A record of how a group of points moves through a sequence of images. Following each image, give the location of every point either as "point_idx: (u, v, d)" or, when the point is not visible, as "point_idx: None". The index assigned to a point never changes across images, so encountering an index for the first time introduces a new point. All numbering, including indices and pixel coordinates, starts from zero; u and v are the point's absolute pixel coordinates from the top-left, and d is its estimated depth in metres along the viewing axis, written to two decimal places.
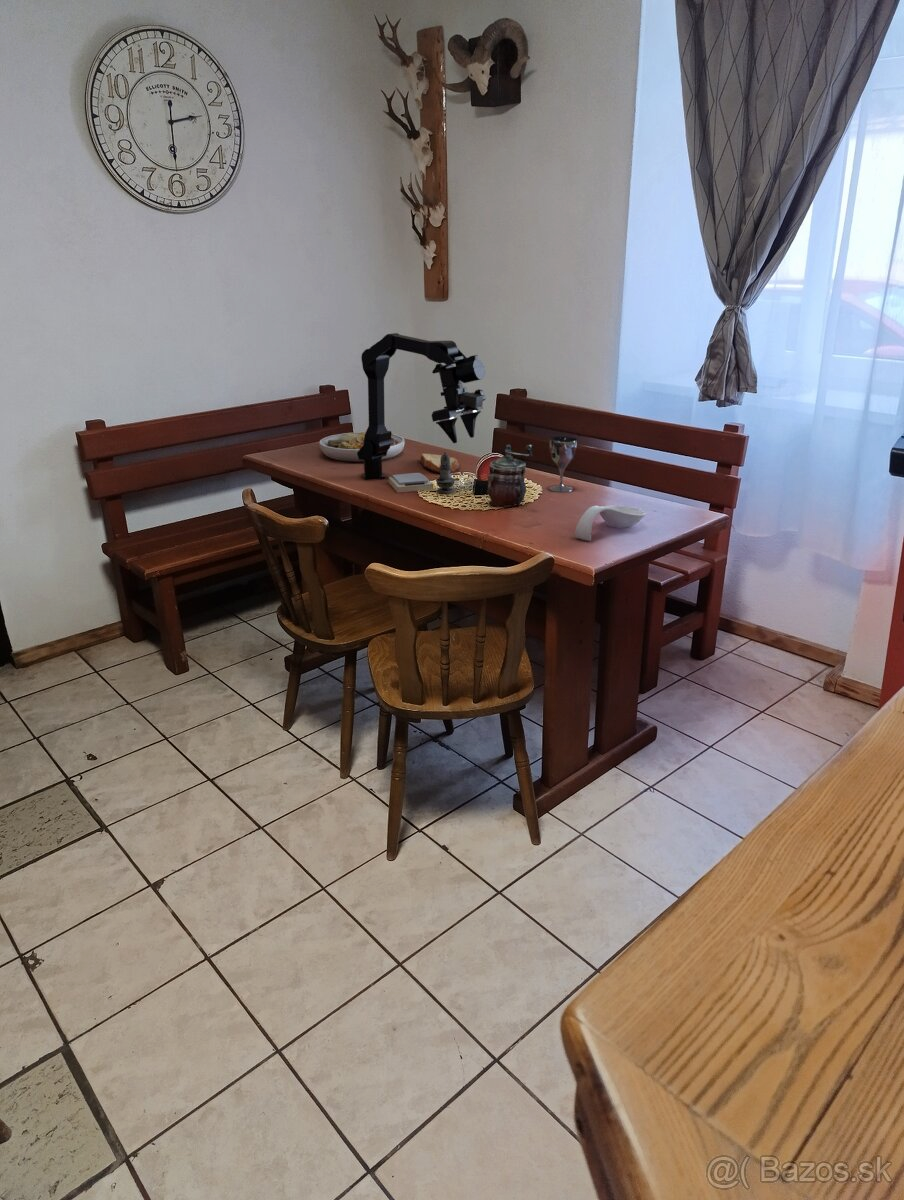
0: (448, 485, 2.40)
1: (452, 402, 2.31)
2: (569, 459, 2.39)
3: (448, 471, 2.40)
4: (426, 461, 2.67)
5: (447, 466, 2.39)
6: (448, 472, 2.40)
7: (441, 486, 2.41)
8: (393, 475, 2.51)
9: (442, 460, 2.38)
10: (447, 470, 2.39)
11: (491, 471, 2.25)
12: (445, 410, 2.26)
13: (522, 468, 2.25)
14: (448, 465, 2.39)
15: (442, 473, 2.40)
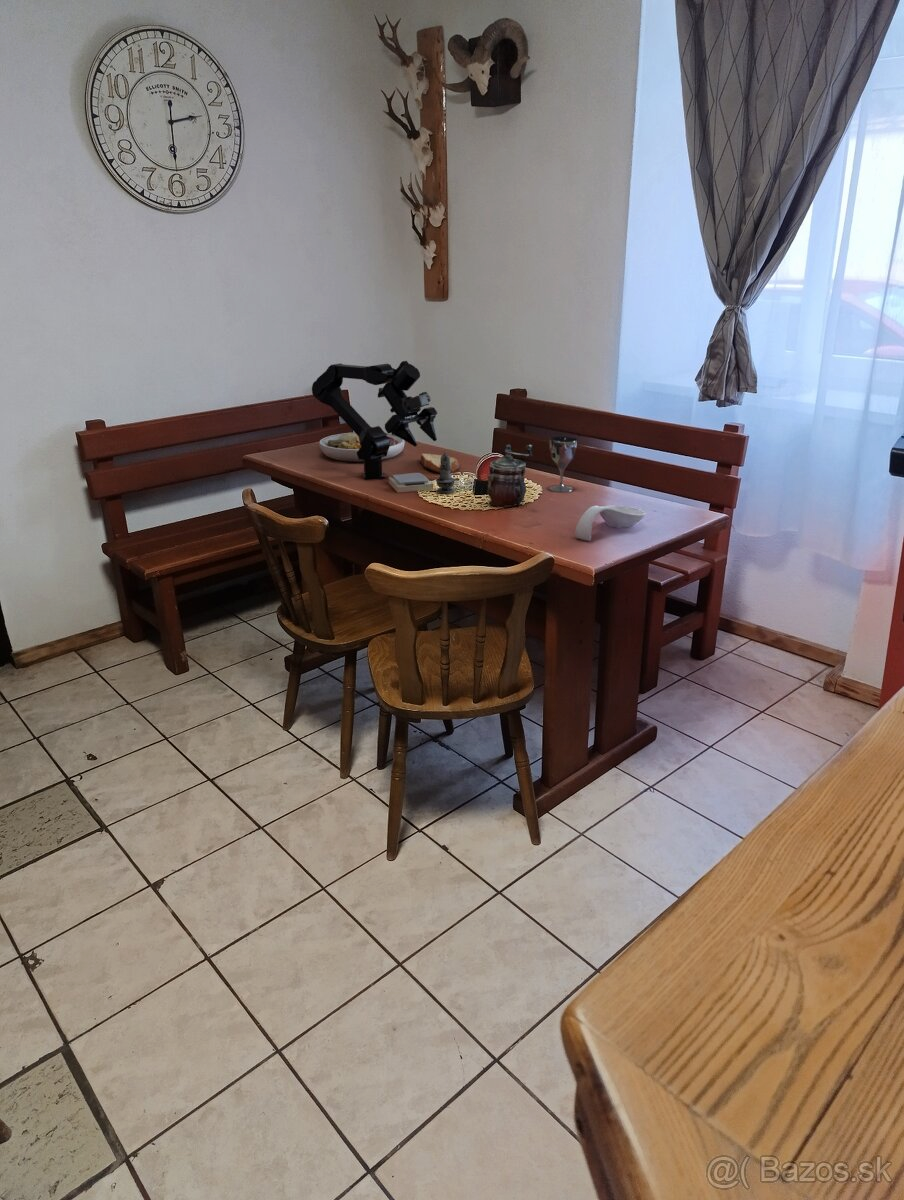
0: (448, 485, 2.40)
1: (401, 412, 2.41)
2: (569, 459, 2.39)
3: (448, 471, 2.40)
4: (426, 461, 2.67)
5: (447, 466, 2.39)
6: (448, 472, 2.40)
7: (441, 486, 2.41)
8: (393, 475, 2.51)
9: (442, 460, 2.38)
10: (447, 470, 2.39)
11: (491, 471, 2.25)
12: (392, 416, 2.35)
13: (522, 468, 2.25)
14: (448, 465, 2.39)
15: (442, 473, 2.40)
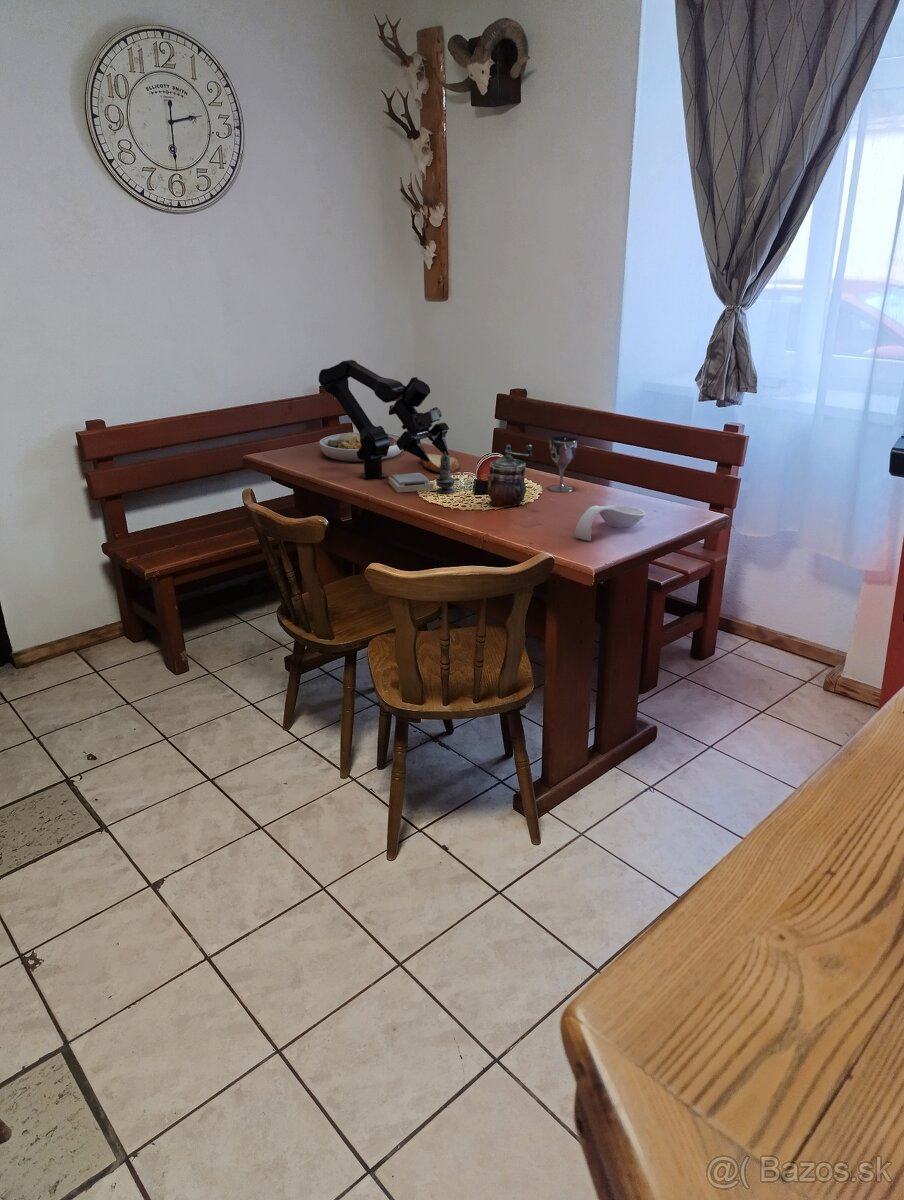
0: (448, 485, 2.40)
1: (413, 428, 2.40)
2: (569, 459, 2.39)
3: (448, 471, 2.40)
4: None
5: (447, 466, 2.39)
6: (448, 472, 2.40)
7: (441, 486, 2.41)
8: (393, 475, 2.51)
9: (442, 460, 2.38)
10: (447, 470, 2.39)
11: (491, 471, 2.25)
12: (404, 433, 2.34)
13: (522, 468, 2.25)
14: (448, 465, 2.39)
15: (442, 473, 2.40)
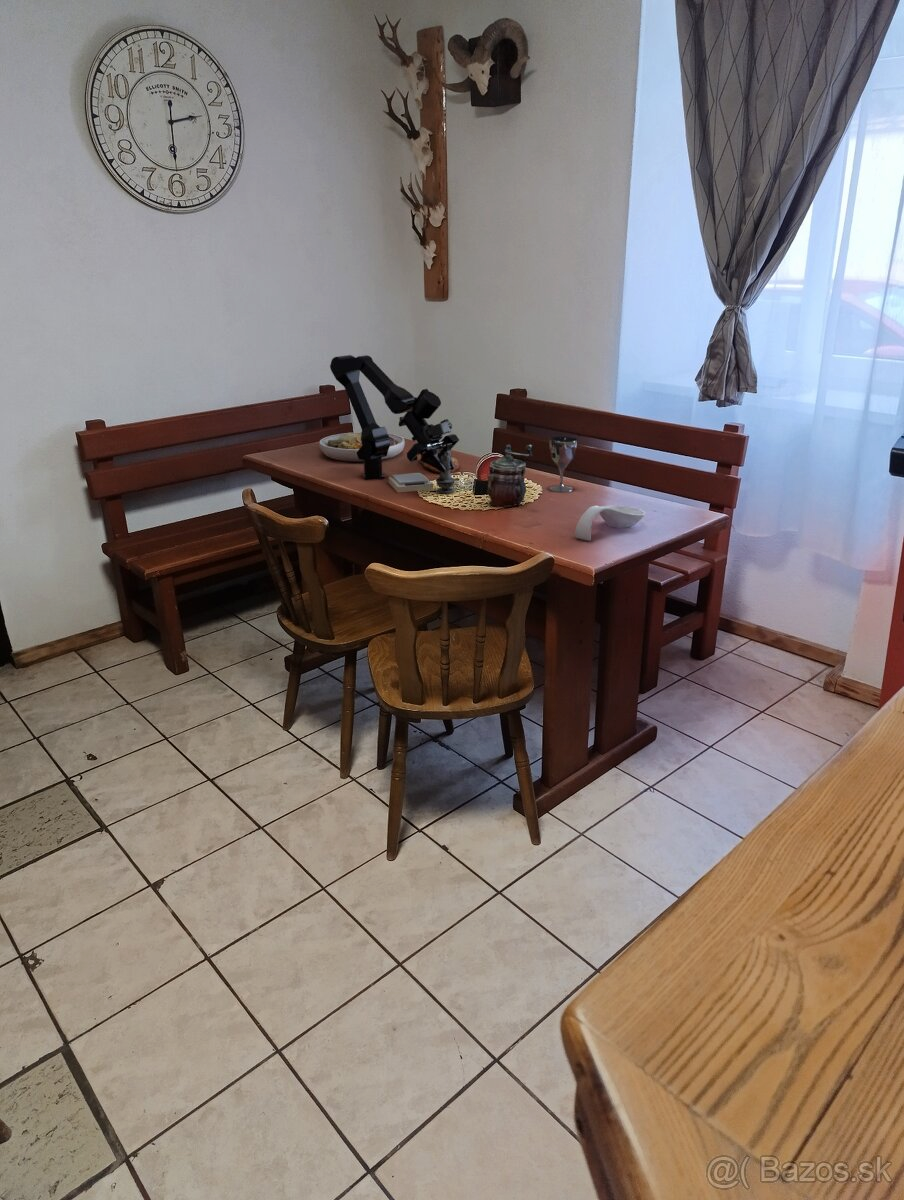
0: (448, 485, 2.40)
1: (423, 440, 2.39)
2: (569, 459, 2.39)
3: (448, 471, 2.40)
4: None
5: (447, 466, 2.39)
6: (448, 472, 2.40)
7: (441, 486, 2.41)
8: (393, 475, 2.51)
9: (442, 460, 2.38)
10: (447, 470, 2.39)
11: (491, 471, 2.25)
12: (414, 445, 2.33)
13: (522, 468, 2.25)
14: (448, 465, 2.39)
15: (442, 473, 2.40)
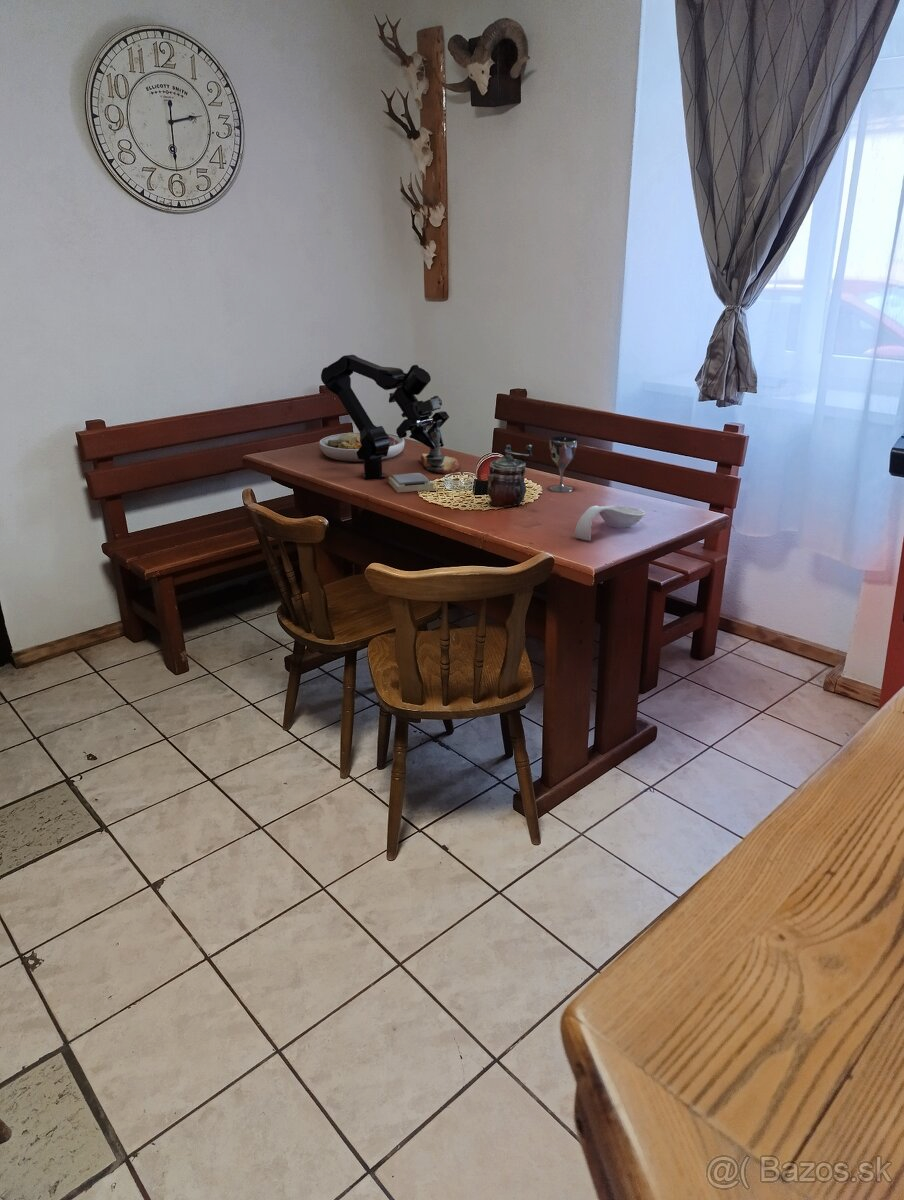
0: (438, 462, 2.39)
1: (413, 416, 2.38)
2: (569, 459, 2.39)
3: (438, 448, 2.39)
4: (426, 461, 2.67)
5: (437, 443, 2.38)
6: (438, 449, 2.39)
7: (430, 463, 2.40)
8: (393, 475, 2.51)
9: (432, 437, 2.38)
10: (437, 447, 2.39)
11: (491, 471, 2.25)
12: (404, 421, 2.32)
13: (522, 468, 2.25)
14: (438, 442, 2.38)
15: (432, 450, 2.39)
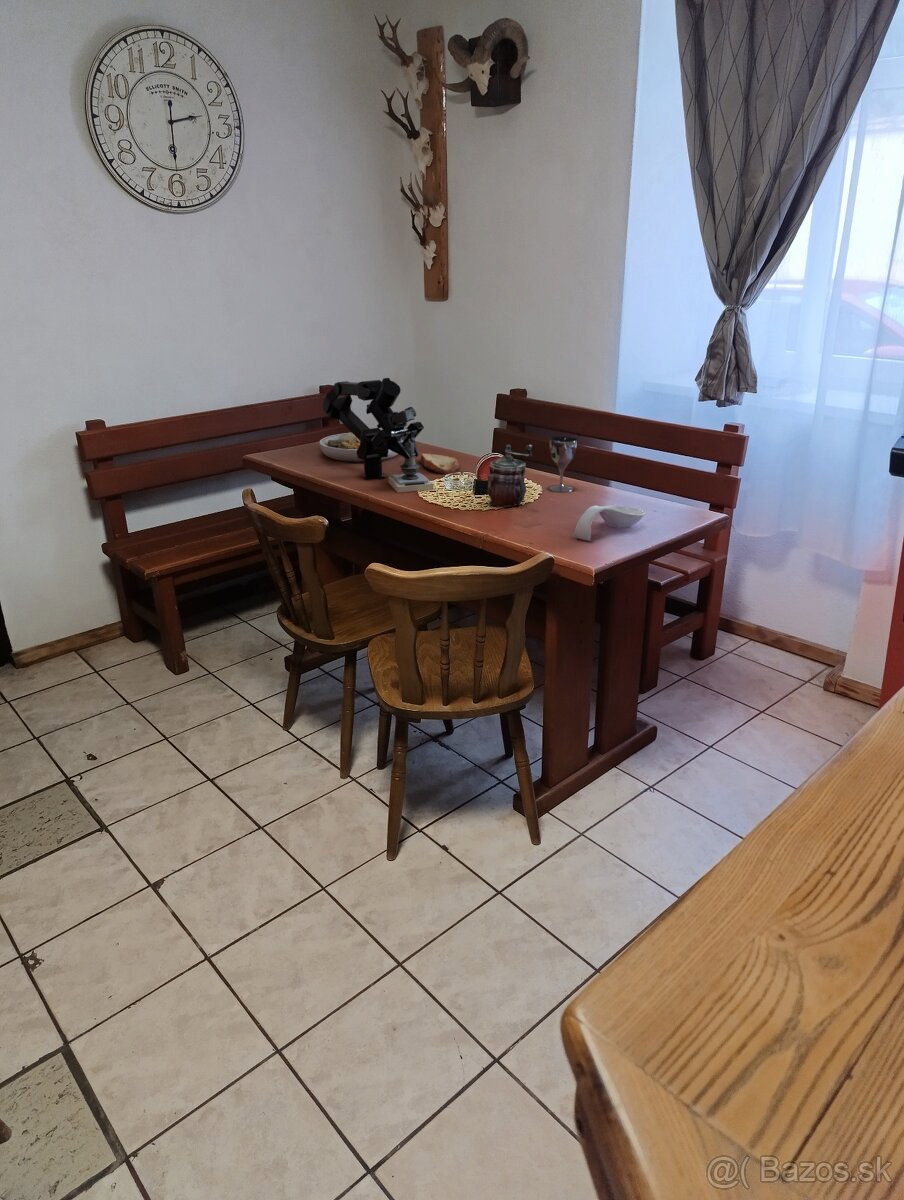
0: (412, 472, 2.45)
1: (388, 427, 2.43)
2: (569, 459, 2.39)
3: (412, 458, 2.44)
4: (426, 461, 2.67)
5: (411, 453, 2.44)
6: (412, 459, 2.45)
7: (405, 472, 2.45)
8: (393, 475, 2.51)
9: (406, 447, 2.43)
10: (411, 457, 2.44)
11: (491, 471, 2.25)
12: (378, 432, 2.38)
13: (522, 468, 2.25)
14: (412, 452, 2.44)
15: (406, 460, 2.45)
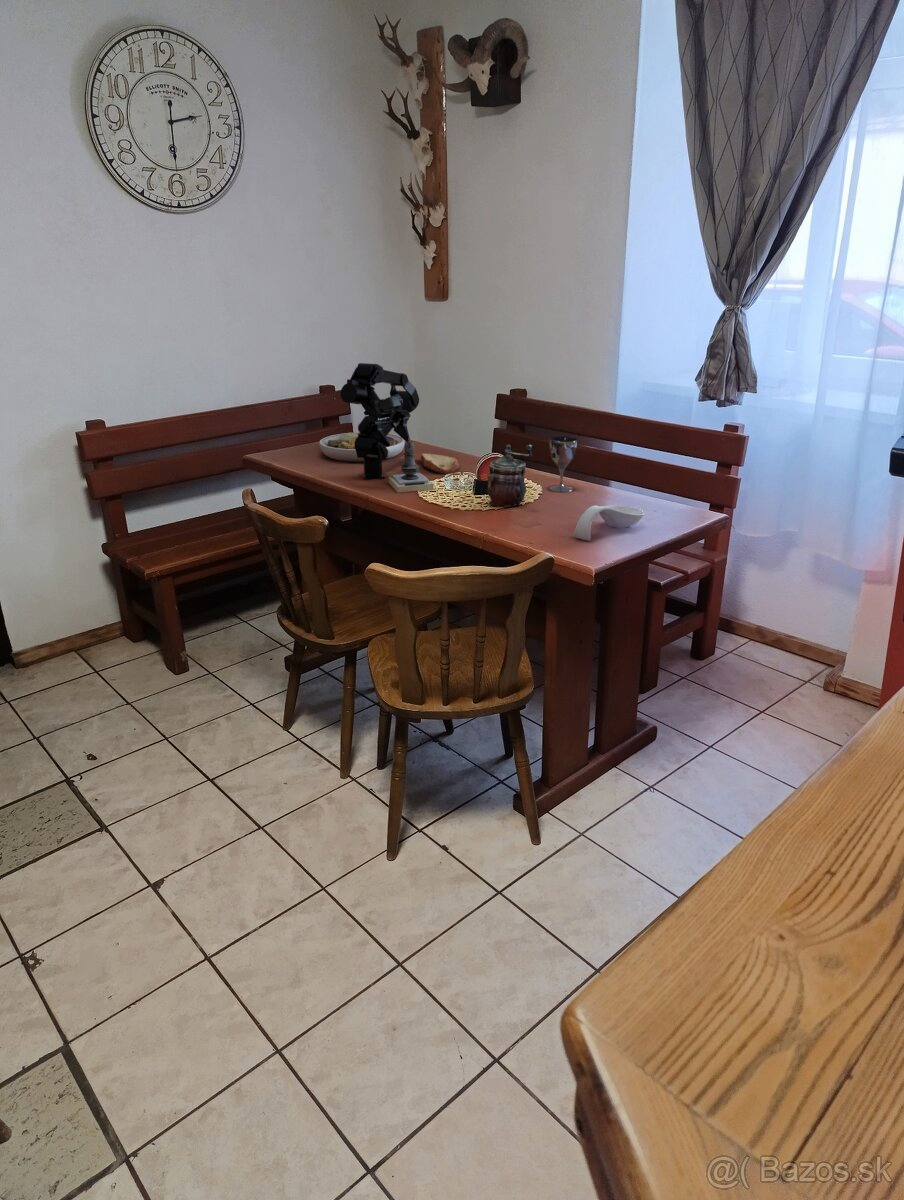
0: (412, 471, 2.45)
1: (374, 414, 2.45)
2: (569, 459, 2.39)
3: (412, 458, 2.45)
4: (426, 461, 2.67)
5: (411, 453, 2.44)
6: (412, 459, 2.45)
7: (405, 472, 2.45)
8: (393, 475, 2.51)
9: (406, 447, 2.43)
10: (411, 457, 2.44)
11: (491, 471, 2.25)
12: (365, 417, 2.39)
13: (522, 468, 2.25)
14: (412, 452, 2.44)
15: (406, 460, 2.45)
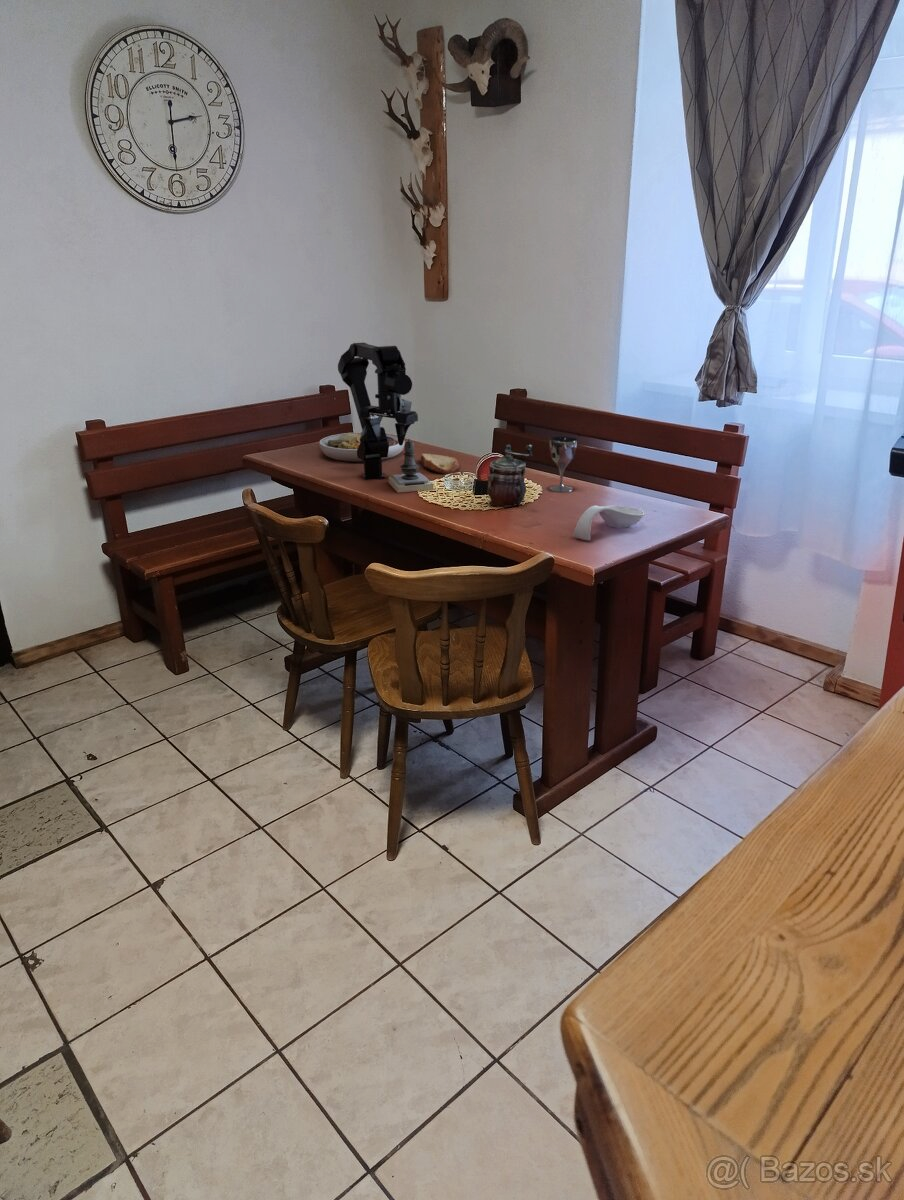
0: (412, 471, 2.45)
1: (396, 406, 2.40)
2: (569, 459, 2.39)
3: (412, 458, 2.45)
4: (426, 461, 2.67)
5: (411, 453, 2.44)
6: (412, 459, 2.45)
7: (405, 472, 2.45)
8: (393, 475, 2.51)
9: (406, 447, 2.43)
10: (411, 457, 2.44)
11: (491, 471, 2.25)
12: (416, 413, 2.38)
13: (522, 468, 2.25)
14: (412, 452, 2.44)
15: (406, 460, 2.45)
